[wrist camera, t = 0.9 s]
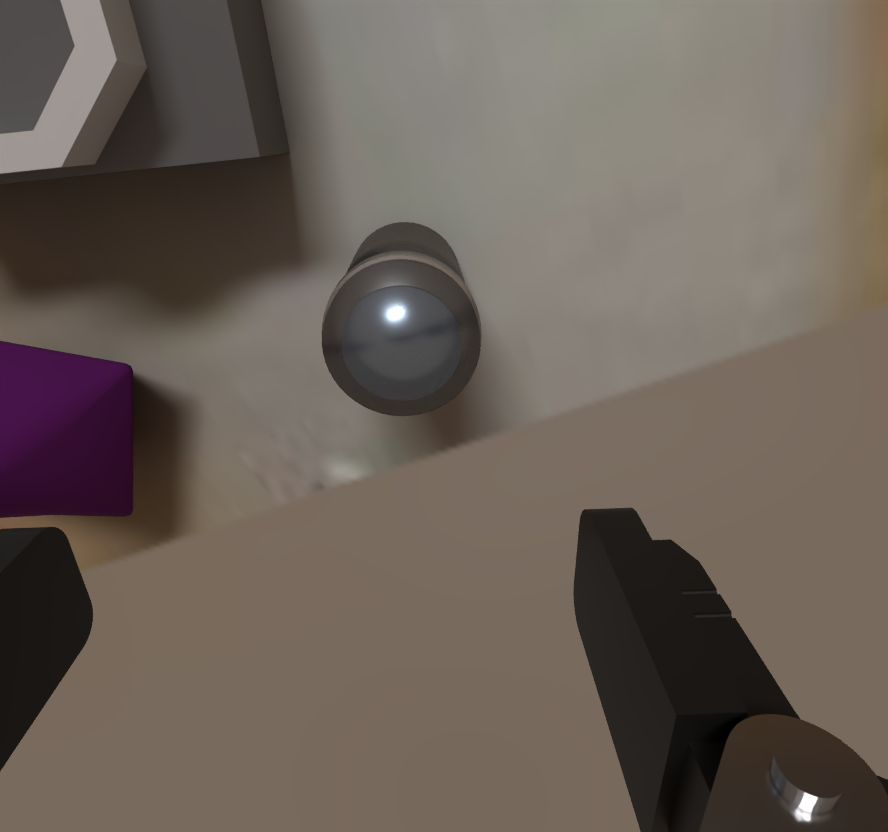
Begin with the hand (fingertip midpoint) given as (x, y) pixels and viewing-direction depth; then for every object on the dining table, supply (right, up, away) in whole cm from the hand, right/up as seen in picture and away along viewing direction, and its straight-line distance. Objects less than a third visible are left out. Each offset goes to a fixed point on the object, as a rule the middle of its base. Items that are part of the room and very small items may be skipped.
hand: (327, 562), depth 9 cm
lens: (0, +8, +17) cm, 19 cm away
